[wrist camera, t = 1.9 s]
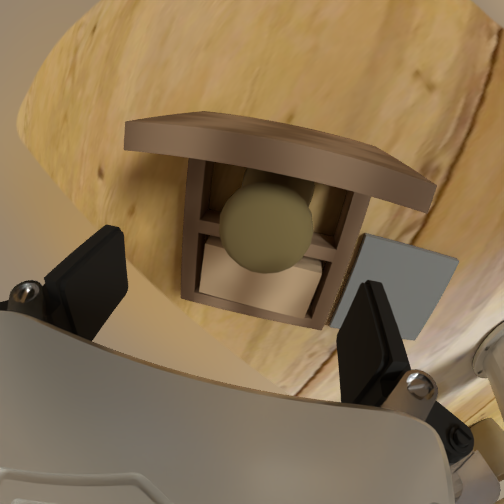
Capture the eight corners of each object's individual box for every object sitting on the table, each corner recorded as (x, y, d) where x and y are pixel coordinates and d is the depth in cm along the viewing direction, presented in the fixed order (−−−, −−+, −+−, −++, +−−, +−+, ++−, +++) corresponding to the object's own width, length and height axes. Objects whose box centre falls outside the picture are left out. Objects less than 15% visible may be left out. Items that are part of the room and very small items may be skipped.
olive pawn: (328, 194, 24) (344, 257, 14) (271, 229, 26) (251, 307, 17) (286, 135, 22) (274, 157, 12) (229, 176, 24) (181, 227, 15)
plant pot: (484, 435, 42) (495, 485, 28) (440, 446, 44) (448, 503, 30) (517, 402, 35) (535, 457, 21) (473, 414, 37) (488, 479, 23)
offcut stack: (320, 253, 27) (322, 273, 24) (304, 295, 29) (303, 319, 26) (216, 226, 27) (205, 243, 24) (209, 271, 30) (199, 291, 27)
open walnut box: (375, 146, 21) (437, 185, 11) (321, 314, 30) (322, 411, 19) (204, 111, 22) (125, 121, 12) (188, 284, 31) (141, 368, 20)
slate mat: (457, 258, 24) (459, 261, 24) (413, 337, 30) (414, 340, 29) (365, 232, 25) (366, 235, 24) (329, 323, 30) (329, 326, 30)
